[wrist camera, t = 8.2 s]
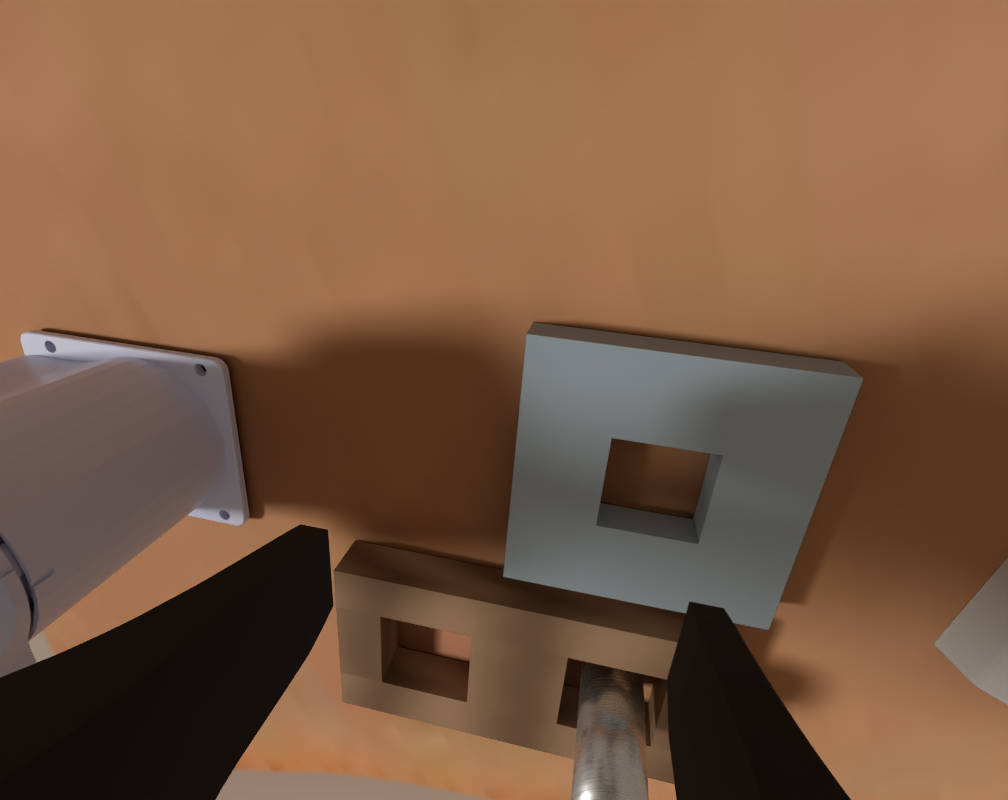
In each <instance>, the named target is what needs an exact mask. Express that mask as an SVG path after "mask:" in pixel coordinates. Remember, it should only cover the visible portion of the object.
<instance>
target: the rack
mask: <svg viewBox="0 0 1008 800" xmlns="http://www.w3.org/2000/svg"><path fill="white" fill-rule="evenodd" d="M503 572H504V570H501V569H496V568H491V567H486V566H481V565H476V564H471V563H466V562H461V561H456V560H451V559H446V558H441V557H436V556H431V555H426V554H421V553H416V552H411V551H406V550H401V549H396V548H391V547H386V546H381V545H376V544H371V543H366V542H361V541H356V540H355V542H354V543H353V544H352V546H351V547H350V549H349V550H348V551H347V553H346V554H345V556H344V557H343V558H342V560H341V561H340V563H339V564H338V565H337V567H336V568H335V570H334V581H335V595H336V610H337V625H338V639H339V654H340V668H341V683H342V697H343V702H345V703H349V704H353V705H357V706H361V707H365V708H369V709H374V710H378V711H382V712H386V713H390V714H394V715H398V716H402V717H406V718H410V719H414V720H418V721H422V722H426V723H430V724H434V725H438V726H442V727H446V728H450V729H454V730H458V731H462V732H466V733H470V734H474V735H478V736H482V737H486V738H490V739H494V740H498V741H503V742H507V743H511V744H515V745H519V746H523V747H527V748H531V749H535V750H539V751H543V752H547V753H551V754H555V755H559V756H563V757H567V758H571V759H574V756H575V743H576V730H577V717H578V705H579V692H580V688H577V687H573V686H568V685H564V684H563V683H564V678H565V672H566V666H567V660H568V658H571V659H575V660H580V661H585V662H589V663H594V664H598V665H603V666H607V667H612V668H616V669H621V670H625V671H630V672H634V673H639V674H644V675H648V676H653V677H655V681H654V685H653V688H652V692H651V696H650V699H649V703H648V704H647V703H644V712H645V733H646V755H647V777H648V778H652V779H656V780H660V781H664V782H668V783H672V784H675V783H674V775H673V767H672V760H671V752H670V744H669V733H668V699H667V678H668V674H669V671H670V667H671V664H672V660H673V657H674V653H675V650H676V646H677V643H678V639H679V636H680V632H681V629H682V625H683V622H684V618H685V615H686V613H681V612H676V611H671V610H666V609H661V608H656V607H651V606H646V605H641V604H636V603H631V602H626V601H621V600H616V599H611V598H606V597H601V596H596V595H591V594H586V593H581V592H576V591H571V590H566V589H562V588H557V587H552V586H547V585H542V584H537V583H532V582H527V581H522V580H517V579H512V578H507V577H503ZM398 621H403V622H407V623H412V624H416V625H421V626H426V627H430V628H435V629H439V630H444V631H448V632H453V633H457V634H462V635H466V636H471V652H470V663H467V662H463V661H458V660H454V659H450V658H445V657H441V656H437V655H432V654H428V653H423V652H419V651H415V650H410V649H406V648H401V647H398Z"/></svg>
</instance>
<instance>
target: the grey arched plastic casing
mask: <svg viewBox="0 0 1008 800" xmlns="http://www.w3.org/2000/svg"><path fill="white" fill-rule="evenodd" d="M934 645H935V646H936V647H937V648H938V649H939V650H940V651H941V652H942V653H943V654H944V655H945V656H946V657H947V658H948V659H949V660H950V661H951V662H952V663H953V664H954V665H955V666H956V667H957V669H958V670H959V671H960V672H961V673H962V674H963V675H964V676H965V677H966V678H967V679H968V680H969V681H971V682H972V683H973V684H974V685H975V686H977V687H978V688H980V689H981V690H983V691H984V692H986V693H988V694H990V695H991V696H993V697H995V698H997V699H998V700H1000V701H1002V702H1003V703H1005V704H1007V705H1008V557H1007V558H1006V560H1005V561H1004V562H1003V563H1002V564H1001V565H1000V567H999V568H998V569H997V570H996V571H995V572H994V574H993V575H992V576H991V577H990V578H989V579H988V581H987V582H986V583H985V584H984V585H983V586H982V588H981V589H980V590H979V591H978V592H977V593H976V595H975V596H974V597H973V598H972V599H971V600H970V602H969V603H968V604H967V605H966V606H965V607H964V609H963V610H962V611H961V612H960V613H959V614H958V616H957V617H956V618H955V619H954V620H953V621H952V623H951V624H950V625H949V626H948V627H947V628H946V630H945V631H944V632H943V633H942V634H941V635H940V637H939V638H938V639H937V640H936V641H935V642H934Z"/></svg>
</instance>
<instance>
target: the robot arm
mask: <svg viewBox="0 0 1008 800" xmlns="http://www.w3.org/2000/svg"><path fill="white" fill-rule="evenodd" d="M21 344H22V347H23V350H24V353H25V355H24V356H21V357H18V358H15V359H11V360H8V361H5V362H2V363H0V800H215V799H216V798H217V796H218V794H219V792H220V790H221V789H222V787H223V785H224V784H225V782H226V780H227V779H228V777H229V775H230V774H231V772H232V771H233V769H234V767H235V766H236V764H237V762H238V761H239V759H240V758H241V756H242V755H243V753H244V752H245V750H246V749H247V747H248V746H249V744H250V743H251V741H252V740H253V738H254V737H255V735H256V734H257V732H258V731H259V729H260V728H261V726H262V725H263V723H264V722H265V720H266V719H267V717H268V716H269V714H270V713H271V711H272V710H273V708H274V707H275V705H276V704H277V702H278V701H279V699H280V698H281V696H282V695H283V693H284V692H285V690H286V689H287V687H288V685H289V684H290V682H291V681H292V679H293V678H294V676H295V675H296V673H297V672H298V670H299V669H300V667H301V666H302V664H303V662H304V661H305V659H306V658H307V656H308V655H309V653H310V651H311V649H312V647H313V645H314V643H315V642H316V640H317V638H318V636H319V634H320V632H321V630H322V628H323V626H324V624H325V622H326V620H327V617H328V615H329V613H330V611H331V609H332V607H333V595H332V581H331V567H330V553H329V539H328V530H326V529H321V528H316V527H311V526H306V525H299V526H297V527H295V528H293V529H291V530H290V531H288V532H286V533H284V534H283V535H281V536H279V537H278V538H276V539H274V540H273V541H271V542H269V543H267V544H266V545H264V546H262V547H261V548H259V549H257V550H256V551H254V552H252V553H251V554H249V555H247V556H246V557H244V558H242V559H241V560H239V561H237V562H236V563H234V564H232V565H230V566H229V567H227V568H225V569H224V570H222V571H220V572H218V573H217V574H215V575H213V576H212V577H210V578H208V579H206V580H205V581H203V582H201V583H200V584H198V585H196V586H194V587H192V588H190V589H189V590H187V591H185V592H183V593H181V594H179V595H177V596H176V597H174V598H172V599H170V600H168V601H166V602H164V603H163V604H161V605H159V606H157V607H155V608H153V609H151V610H150V611H148V612H146V613H144V614H142V615H140V616H138V617H136V618H134V619H132V620H130V621H128V622H126V623H124V624H122V625H120V626H118V627H116V628H114V629H112V630H110V631H108V632H106V633H104V634H101V635H99V636H97V637H95V638H93V639H90V640H88V641H86V642H84V643H82V644H79V645H77V646H75V647H73V648H71V649H68V650H66V651H64V652H62V653H59V654H57V655H55V656H52V657H50V658H48V659H45V660H42V661H40V662H37V663H36V659H35V658H34V656H33V654H32V652H31V649H30V647H29V641H30V640H31V639H32V638H33V637H35V636H36V635H37V634H38V633H40V632H41V631H42V630H44V629H45V628H46V627H47V626H49V625H50V624H51V623H52V622H54V621H55V620H56V619H57V618H59V617H60V616H61V615H62V614H64V613H65V612H66V611H67V610H69V609H70V608H71V607H73V606H74V605H75V604H76V603H78V602H79V601H80V600H81V599H83V598H84V597H85V596H86V595H88V594H89V593H90V592H91V591H93V590H94V589H95V588H96V587H98V586H99V585H100V584H101V583H103V582H104V581H105V580H106V579H108V578H109V577H110V576H112V575H113V574H114V573H115V572H117V571H118V570H119V569H120V568H122V567H123V566H124V565H125V564H127V563H128V562H129V561H130V560H132V559H133V558H134V557H135V556H137V555H138V554H139V553H140V552H142V551H143V550H144V549H146V548H147V547H148V546H149V545H151V544H152V543H153V542H154V541H156V540H157V539H158V538H159V537H161V536H162V535H163V534H164V533H166V532H167V531H168V530H169V529H171V528H172V527H173V526H174V525H176V524H177V523H178V522H179V521H181V520H182V519H183V518H185V517H186V516H187V515H188V516H193V517H198V518H202V519H207V520H212V521H217V522H222V523H227V524H232V525H242V524H244V523H245V522H246V521H247V520H248V519H249V508H248V501H247V494H246V487H245V480H244V473H243V466H242V459H241V452H240V445H239V438H238V431H237V424H236V417H235V411H234V404H233V397H232V390H231V383H230V376H229V370H228V367H227V365H226V364H225V362H224V361H222V360H221V359H219V358H217V357H211V356H204V355H198V354H191V353H185V352H178V351H171V350H165V349H158V348H152V347H145V346H138V345H132V344H125V343H118V342H112V341H105V340H99V339H92V338H85V337H79V336H72V335H66V334H59V333H52V332H46V331H39V330H30V331H26V332H24V333H23V334H22V335H21ZM201 365H203V366H204V367H205V369H206V372H205V371H204V370H203V369H202V366H201ZM226 511H227V512H228V513H229V514H228V513H227V512H226ZM667 699H668V733H669V744H670V752H671V760H672V767H673V775H674V783H675V790H676V797H677V800H851V799H850V798H849V797H848V795H847V794H846V793H845V791H844V790H843V789H842V787H841V786H840V784H839V783H838V782H837V780H836V779H835V778H834V776H833V775H832V773H831V772H830V771H829V769H828V768H827V767H826V765H825V764H824V762H823V761H822V760H821V758H820V757H819V756H818V754H817V753H816V751H815V750H814V748H813V747H812V745H811V744H810V743H809V741H808V740H807V738H806V737H805V735H804V734H803V733H802V731H801V730H800V728H799V727H798V725H797V724H796V722H795V721H794V719H793V718H792V716H791V714H790V713H789V711H788V710H787V708H786V707H785V705H784V704H783V702H782V701H781V699H780V698H779V696H778V695H777V693H776V692H775V690H774V689H773V687H772V686H771V684H770V682H769V681H768V679H767V678H766V676H765V674H764V673H763V671H762V670H761V668H760V666H759V665H758V663H757V661H756V660H755V658H754V657H753V655H752V653H751V652H750V650H749V648H748V647H747V645H746V643H745V642H744V640H743V638H742V637H741V635H740V633H739V632H738V630H737V628H736V627H735V625H734V623H733V622H732V620H731V618H730V616H729V615H728V613H727V612H726V611H725V609H724V608H720V607H715V606H710V605H705V604H700V603H695V602H690V601H689V605H688V608H687V611H686V615H685V618H684V622H683V625H682V629H681V632H680V636H679V639H678V643H677V646H676V650H675V653H674V657H673V660H672V664H671V667H670V671H669V674H668V678H667Z"/></svg>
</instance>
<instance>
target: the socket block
mask: <svg viewBox="0 0 1008 800" xmlns="http://www.w3.org/2000/svg"><path fill="white" fill-rule="evenodd" d="M863 379H864V378H863V377H862V376H860V375H859V374H858V373H857V372H856V371H854V370H853V369H852V368H851V367H850V366H848V365H847V364H846V363H845V362H842V361H834V360H826V359H818V358H810V357H802V356H795V355H787V354H779V353H771V352H763V351H756V350H748V349H740V348H732V347H724V346H716V345H709V344H701V343H693V342H685V341H677V340H669V339H662V338H654V337H646V336H638V335H630V334H622V333H615V332H607V331H599V330H591V329H583V328H576V327H568V326H560V325H552V324H544V323H536V322H533V324H532V326H531V327H530V329H529V331H528V333H527V336H526V346H525V356H524V367H523V377H522V387H521V397H520V408H519V418H518V428H517V439H516V449H515V459H514V469H513V480H512V490H511V500H510V511H509V521H508V531H507V541H506V552H505V562H504V572H503V577H507V578H512V579H517V580H522V581H527V582H532V583H537V584H542V585H547V586H552V587H557V588H562V589H566V590H571V591H576V592H581V593H586V594H591V595H596V596H601V597H606V598H611V599H616V600H621V601H626V602H631V603H636V604H641V605H646V606H651V607H656V608H661V609H666V610H671V611H676V612H681V613H686V611H687V608H688V605H689V601H690V602H695V603H700V604H705V605H710V606H715V607H720V608H724V609H725V611H726V612H727V613H728V615H729V616H730V618H731V620H732V622H733V623H735V624H740V625H745V626H750V627H755V628H760V629H765V630H769V628H770V625H771V622H772V620H773V617H774V615H775V612H776V609H777V607H778V604H779V601H780V599H781V596H782V593H783V591H784V588H785V585H786V583H787V580H788V577H789V575H790V572H791V570H792V567H793V564H794V562H795V559H796V556H797V554H798V551H799V548H800V546H801V543H802V540H803V538H804V535H805V532H806V530H807V527H808V525H809V522H810V519H811V517H812V514H813V511H814V509H815V506H816V503H817V501H818V498H819V495H820V493H821V490H822V487H823V485H824V482H825V480H826V477H827V474H828V472H829V469H830V466H831V464H832V461H833V458H834V456H835V453H836V450H837V448H838V445H839V442H840V440H841V437H842V435H843V432H844V429H845V427H846V424H847V421H848V419H849V416H850V413H851V411H852V408H853V405H854V403H855V400H856V397H857V395H858V392H859V389H860V387H861V384H862V382H863ZM612 438H614V439H621V440H627V441H633V442H640V443H646V444H653V445H659V446H665V447H672V448H678V449H684V450H691V451H697V452H703V453H710V458H709V462H708V465H707V469H706V473H705V477H704V480H703V484H702V488H701V492H700V495H699V499H698V503H697V506H696V510H695V514H694V518H693V519H689V518H683V517H677V516H672V515H666V514H660V513H655V512H649V511H643V510H637V509H632V508H626V507H620V506H615V505H609V504H603V503H600V500H601V495H602V489H603V484H604V478H605V473H606V467H607V461H608V456H609V450H610V445H611V439H612Z"/></svg>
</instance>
